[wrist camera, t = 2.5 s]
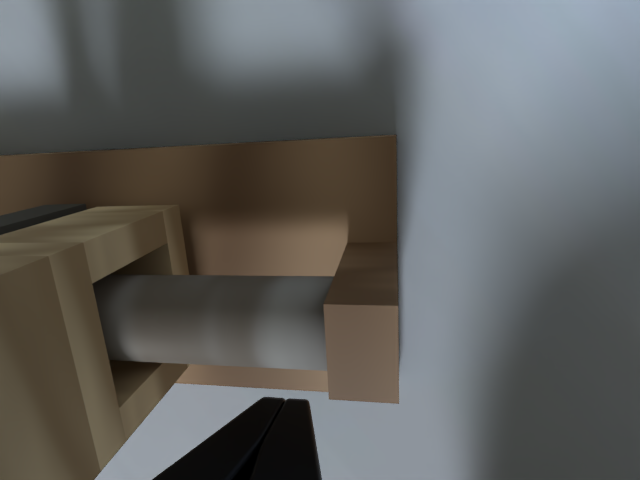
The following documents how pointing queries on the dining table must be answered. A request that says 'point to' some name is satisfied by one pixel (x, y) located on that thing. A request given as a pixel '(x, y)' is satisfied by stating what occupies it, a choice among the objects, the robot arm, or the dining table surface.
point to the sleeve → (76, 339)
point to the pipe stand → (248, 258)
